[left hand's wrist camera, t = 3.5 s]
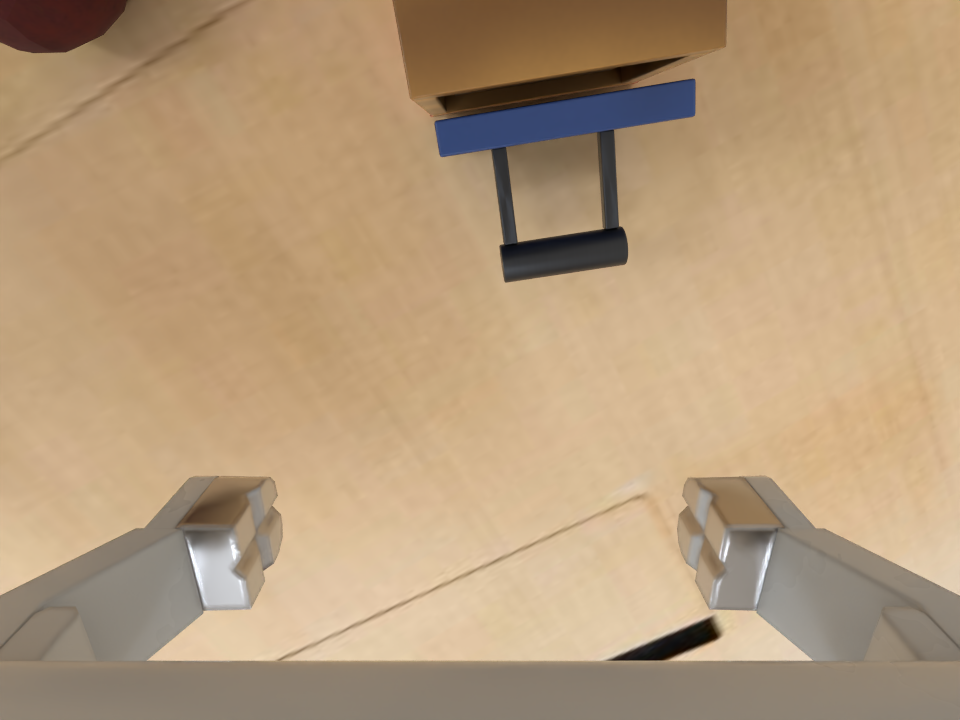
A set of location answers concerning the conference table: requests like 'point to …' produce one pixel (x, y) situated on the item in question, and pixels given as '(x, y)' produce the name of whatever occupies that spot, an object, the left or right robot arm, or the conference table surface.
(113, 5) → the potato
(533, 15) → the cabinet
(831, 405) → the conference table surface
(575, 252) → the drawer
